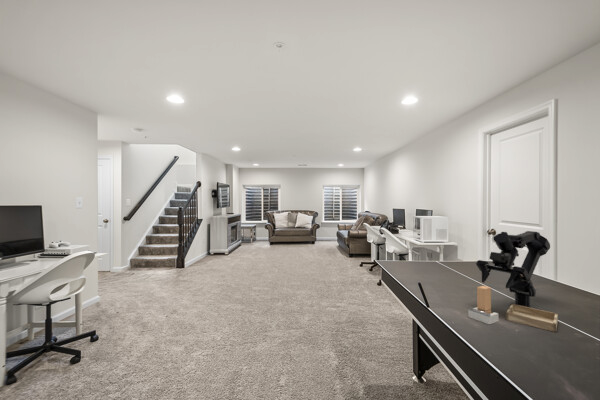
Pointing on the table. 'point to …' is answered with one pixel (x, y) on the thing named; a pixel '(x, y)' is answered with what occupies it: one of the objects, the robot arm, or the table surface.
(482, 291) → the orange post
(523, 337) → the table surface
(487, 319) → the white piece
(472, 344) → the table surface
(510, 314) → the tray
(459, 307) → the table surface
